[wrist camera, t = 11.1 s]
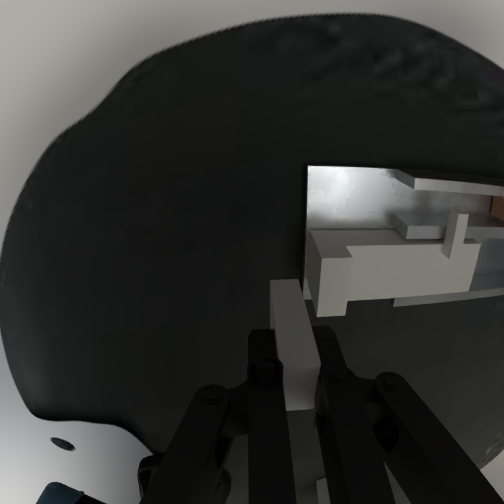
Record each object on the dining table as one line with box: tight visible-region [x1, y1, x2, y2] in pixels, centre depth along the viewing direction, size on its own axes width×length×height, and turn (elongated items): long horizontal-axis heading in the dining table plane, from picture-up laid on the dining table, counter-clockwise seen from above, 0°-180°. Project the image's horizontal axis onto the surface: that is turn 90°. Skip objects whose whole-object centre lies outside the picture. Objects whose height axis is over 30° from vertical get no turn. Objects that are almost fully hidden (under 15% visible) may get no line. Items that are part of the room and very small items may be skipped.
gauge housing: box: [301, 164, 504, 307], centre depth 22 cm, size 26×11×7 cm, turn 91°
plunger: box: [307, 209, 481, 317], centre depth 22 cm, size 14×7×5 cm, turn 91°
